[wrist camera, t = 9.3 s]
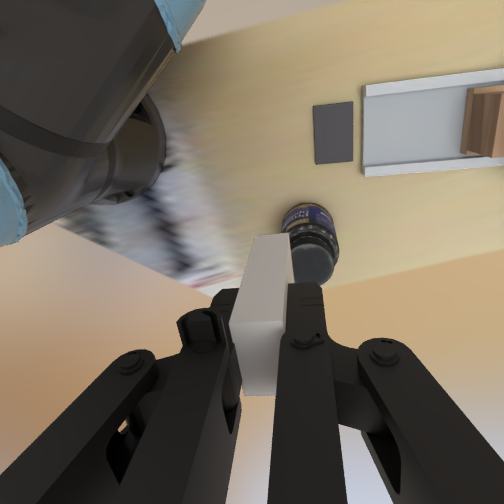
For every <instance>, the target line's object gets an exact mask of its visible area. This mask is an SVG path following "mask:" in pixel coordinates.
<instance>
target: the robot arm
mask: <svg viewBox="0 0 504 504" xmlns="http://www.w3.org/2000/svg"><path fill="white" fill-rule="evenodd" d="M205 2H206V0H0V247H2V246H4V245H8V244H9V245H10V244H13V243H16V242H18V241H19V240H20V239H21V238H22V237H24V236H26V235H28V234H30V233H32V232H34V231H35V230H38V229H39V228H41V227H43V226H45V225H47V224H49V223H51V222H53V221H55V220H57V219H59V218H61V217H63V216H65V215H67V214H69V213H71V212H73V211H75V210H77V209H79V208H81V207H83V206H85V205H86V204H99V205H114V204H119V203H124V202H127V201H129V200H131V199H133V198H135V197H137V196H139V195H140V194H142V193H143V192H145V191H146V190H147V189H149V188H150V187H151V186H152V185H153V183H154V182H155V181H156V179H157V178H158V176H159V174H160V172H161V170H162V167H163V164H164V160H165V155H166V137H165V131H164V127H163V123H162V120H161V117H160V115H159V113H158V111H157V108H156V107H155V105H154V103H153V102H152V100H151V99H150V97H149V96H148V95H147V91H148V90H149V88H150V87H151V86H152V84H153V83H154V81H155V80H156V78H157V77H158V76H159V74H160V73H161V71H162V70H163V69H164V67H165V66H166V64H167V63H168V61H169V60H170V59H171V57H172V56H173V54H174V53H177V54H178V52H179V51H180V50H181V47H182V45H181V42H182V40H183V39H184V37H185V35H186V34H187V32H188V31H189V29H190V28H191V26H192V24H193V23H194V21H195V20H196V18H197V16H198V15H199V13H200V12H201V10H202V8H203V7H204V4H205ZM176 323H177V327H178V330H179V334H180V337H181V341H182V344H183V347H182V349H181V351H180V353H179V354H176V355H173V356H170V357H166V358H162V359H159V360H156V359H155V356H154V355H153V353H152V352H151V351H148V350H145V349H144V350H141V349H140V350H134V351H130V352H128V353H126V354H123V355H121V356H120V357H118V358H117V359H116V360H115V361H113V362H112V363H111V364H110V365H109V366H108V367H107V368H106V369H105V370H104V371H103V372H102V373H101V374H100V375H99V376H98V377H97V378H96V379H95V380H94V382H92V383H91V385H89V386H88V387H87V389H86V390H84V392H82V394H80V396H79V397H77V399H75V400H74V401H73V402H72V404H71V405H70V406H69V407H68V408H67V409H66V410H65V411H64V412H63V413H62V414H61V415H60V416H59V417H58V418H57V419H56V420H55V421H54V422H53V423H52V424H51V425H50V426H49V427H48V428H47V429H46V430H45V431H44V432H43V433H42V434H41V435H40V436H39V437H38V438H37V439H36V440H35V441H34V442H33V443H32V444H31V445H30V446H29V447H28V448H27V449H26V450H25V451H24V452H23V453H22V454H21V455H20V456H19V457H18V458H17V459H16V460H15V461H14V462H13V463H12V464H11V465H10V466H9V467H8V468H7V469H6V470H5V471H4V472H3V473H2V474H1V475H0V504H225V502H226V497H227V491H228V485H229V480H230V474H231V468H232V462H233V457H234V451H235V445H236V440H237V434H238V429H239V422H240V417H241V411H242V410H241V401H240V397H239V395H240V389H241V385H242V388H243V393H244V396H276V399H275V413H274V424H273V437H272V450H271V462H270V476H269V488H268V500H267V504H348V503H347V494H346V486H345V477H344V469H343V460H342V451H341V444H340V435H339V426H338V424H341V425H344V426H348V427H351V428H355V429H358V430H361V435H362V437H363V439H364V441H365V443H366V446H367V448H368V450H369V452H370V454H371V456H372V458H373V461H374V463H375V465H376V467H377V469H378V471H379V473H380V476H381V478H382V480H383V482H384V484H385V486H386V488H387V491H388V493H389V495H390V497H391V499H392V501H393V503H394V504H504V461H503V460H502V459H501V458H500V457H499V455H498V454H497V453H496V452H495V450H494V449H493V448H492V447H491V446H490V444H489V443H488V442H487V441H486V440H485V438H484V437H483V436H482V435H481V434H480V432H479V431H478V430H477V429H476V428H475V427H474V425H473V424H472V423H471V422H470V420H469V419H468V418H467V417H466V416H465V414H464V413H463V412H462V411H461V410H460V408H459V407H458V406H457V405H456V404H455V402H454V401H453V400H452V399H451V398H450V396H449V395H448V394H447V393H446V392H445V390H444V389H443V388H442V387H441V386H440V384H439V383H438V382H437V381H436V380H435V378H434V377H433V376H432V375H431V373H430V372H429V371H428V370H427V369H426V367H425V366H424V365H423V364H422V363H421V361H420V360H419V359H418V358H417V357H416V355H415V354H414V353H413V352H412V351H411V349H409V348H408V347H407V346H406V345H404V344H403V343H401V342H399V341H396V340H394V339H388V338H373V339H370V340H367V341H365V342H363V343H362V344H361V345H360V346H359V348H358V349H354V348H349V347H345V346H342V345H340V344H338V343H336V342H334V341H333V340H332V339H331V338H330V337H329V335H328V333H327V328H326V320H325V312H324V303H323V294H322V288H321V287H320V286H319V285H318V284H317V283H316V282H315V281H314V282H301V283H294V275H293V266H292V258H291V249H290V241H289V233H280V234H270V235H260V236H255V238H254V242H253V245H252V248H251V252H250V255H249V258H248V261H247V265H246V268H245V271H244V275H243V278H242V281H241V285H240V288H231V289H222V290H221V291H220V292H218V293H217V294H216V295H215V296H214V298H213V300H212V303H211V306H210V307H209V308H201V309H196V310H193V311H190V312H188V313H186V314H185V315H183V316H182V317H180V319H179V320H178V321H177V322H176ZM124 420H125V421H126V423H127V426H126V427H125V428H124V429H123V430H122V431H121V432H118V428H119V427H120V426H121V424H122V423H123V422H124Z"/></svg>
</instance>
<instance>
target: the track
mask: <svg viewBox="0 0 504 504" xmlns="http://www.w3.org/2000/svg"><path fill="white" fill-rule="evenodd" d="M502 84H504V68H500V69H492V70H484V71H476V72H468V73H460V74H452V75H444V76H436V77H428V78H420V79H412V80H404V81H396V82H388V83H380V84H372V85H365V86H362V170H361V173H362V174H363V175H364V177H372V176H385V175H397V174H409V173H421V172H433V171H445V170H457V169H469V168H481V167H494V166H504V157H499V158H490V157H487V156H484V155H481V154H475V155H464V154H461V153H460V148H461V140H462V131H463V123H464V114H465V106H466V97H467V89H468V88H477V87H485V86H494V85H502Z"/></svg>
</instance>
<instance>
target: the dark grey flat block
mask: <svg viewBox="0 0 504 504" xmlns="http://www.w3.org/2000/svg"><path fill="white" fill-rule="evenodd" d="M313 111H314V136H315V160H316V165H318V164H329V163H340V162H351V161H353V102H345V103H336V104H328V105H319V106H313Z"/></svg>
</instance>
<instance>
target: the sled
mask: <svg viewBox="0 0 504 504" xmlns="http://www.w3.org/2000/svg"><path fill="white" fill-rule="evenodd" d="M460 153H461V154H464V155H475V154H481V155H484V156H487V157H490V158H499V157H504V84H502V85H494V86H485V87H477V88H468V89H467V97H466V106H465V114H464V123H463V131H462V140H461V148H460Z"/></svg>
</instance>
